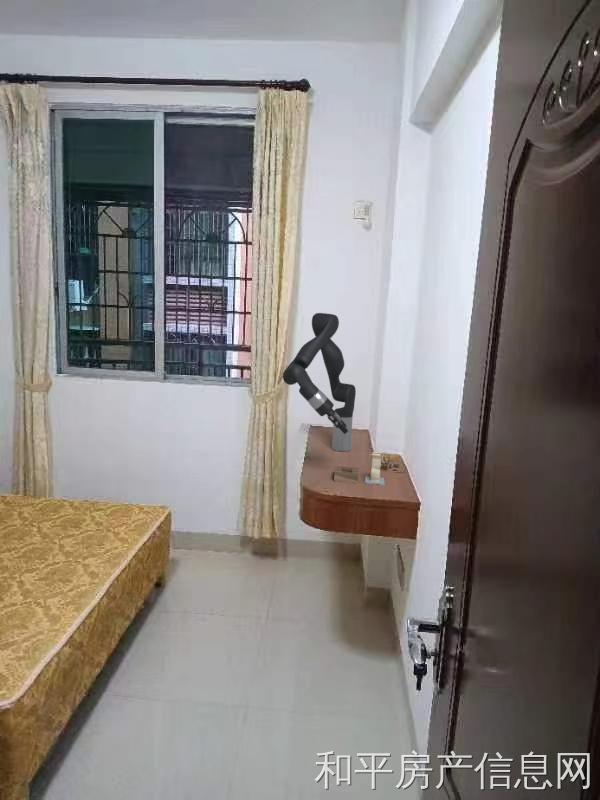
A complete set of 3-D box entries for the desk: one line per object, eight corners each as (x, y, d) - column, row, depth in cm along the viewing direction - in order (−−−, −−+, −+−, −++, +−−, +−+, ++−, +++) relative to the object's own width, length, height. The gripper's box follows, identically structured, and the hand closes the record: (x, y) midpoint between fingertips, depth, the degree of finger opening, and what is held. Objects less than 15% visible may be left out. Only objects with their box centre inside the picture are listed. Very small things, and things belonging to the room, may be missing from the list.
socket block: (335, 473, 258) (335, 465, 257) (358, 475, 257) (358, 467, 256) (333, 480, 248) (334, 472, 247) (357, 482, 247) (358, 474, 246)
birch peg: (369, 478, 252) (371, 453, 250) (378, 478, 252) (380, 453, 250) (370, 481, 248) (372, 455, 246) (379, 481, 248) (381, 456, 246)
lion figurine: (385, 474, 261) (387, 454, 259) (375, 471, 264) (377, 451, 263) (403, 467, 272) (404, 448, 270) (393, 464, 275) (394, 446, 274)
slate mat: (365, 477, 255) (365, 476, 255) (383, 479, 254) (384, 477, 254) (365, 483, 247) (365, 482, 247) (384, 485, 246) (384, 483, 246)
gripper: (327, 400, 244) (353, 428, 246) (325, 393, 258) (350, 419, 260) (314, 412, 245) (340, 440, 247) (313, 404, 259) (338, 431, 261)
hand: (345, 429), depth 254 cm, fingers open, 8 cm apart
